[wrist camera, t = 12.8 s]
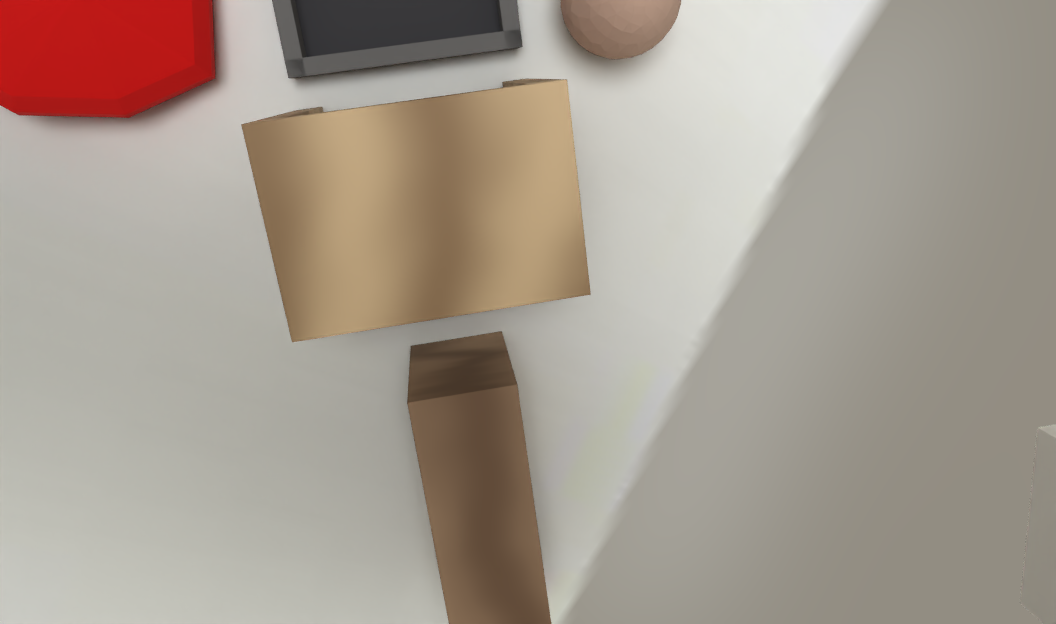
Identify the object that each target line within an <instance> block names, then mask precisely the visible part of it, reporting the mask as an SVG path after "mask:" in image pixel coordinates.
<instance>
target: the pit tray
mask: <svg viewBox="0 0 1056 624" xmlns="http://www.w3.org/2000/svg"><path fill="white" fill-rule="evenodd" d="M272 2H273V7H274V12H275V16H276V21H277V26H278V31H279V35H280V40H281V45H282V49H283V54H284V59H285V64H286V68H287V73H288V78H299V77H306V76H314V75H321V74H328V73H336V72H343V71H351V70H358V69H366V68H373V67H381V66H388V65H395V64H403V63H410V62H418V61H425V60H433V59H440V58H448V57H455V56H462V55H470V54H477V53H485V52H492V51H500V50H507V49H515V48H520V47H522V39H521V31H520V23H519V15H518V7H517V0H272Z"/></svg>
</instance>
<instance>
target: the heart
mask: <svg viewBox="0 0 1056 624" xmlns="http://www.w3.org/2000/svg"><path fill="white" fill-rule="evenodd" d="M213 79H215V57H214V32H213V6H212V0H0V105H1V106H3V107H5V108H6V109H8V110H10V111H12V112H14V113H16V114H18V115H34V116H77V117H121V118H129V117H132V116H134V115H136V114H138V113H140V112H143V111H145V110H147V109H149V108H151V107H154V106H156V105H158V104H160V103H162V102H165V101H167V100H169V99H171V98H173V97H176V96H178V95H180V94H182V93H184V92H186V91H189V90H191V89H193V88H195V87H197V86H200V85H202V84H204V83H206V82H208V81H211V80H213Z"/></svg>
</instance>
